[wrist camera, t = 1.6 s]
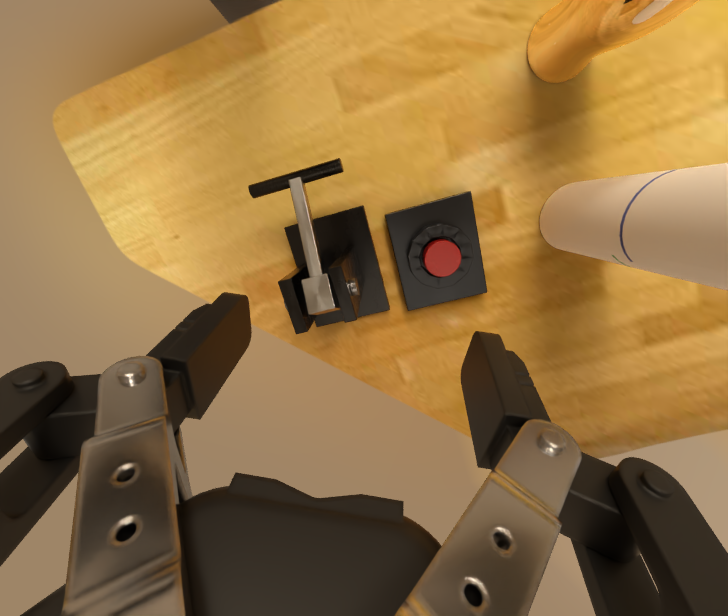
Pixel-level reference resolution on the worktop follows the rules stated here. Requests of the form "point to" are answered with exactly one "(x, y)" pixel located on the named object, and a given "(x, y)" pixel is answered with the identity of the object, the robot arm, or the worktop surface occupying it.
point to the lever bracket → (337, 270)
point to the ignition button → (441, 257)
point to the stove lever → (307, 231)
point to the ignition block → (420, 229)
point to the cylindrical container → (647, 222)
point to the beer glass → (592, 32)
